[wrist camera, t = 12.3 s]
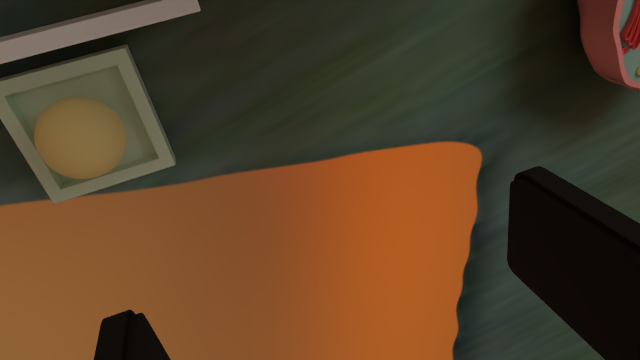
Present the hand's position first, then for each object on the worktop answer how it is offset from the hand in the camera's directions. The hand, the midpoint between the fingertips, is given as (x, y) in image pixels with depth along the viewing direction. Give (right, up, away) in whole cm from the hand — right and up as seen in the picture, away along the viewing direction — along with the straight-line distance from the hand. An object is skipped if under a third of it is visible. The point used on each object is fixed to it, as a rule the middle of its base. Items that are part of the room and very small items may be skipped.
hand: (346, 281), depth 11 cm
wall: (-20, +13, +21) cm, 32 cm away
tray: (-19, +7, +24) cm, 32 cm away
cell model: (+30, +21, +34) cm, 50 cm away
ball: (-18, +6, +21) cm, 28 cm away
